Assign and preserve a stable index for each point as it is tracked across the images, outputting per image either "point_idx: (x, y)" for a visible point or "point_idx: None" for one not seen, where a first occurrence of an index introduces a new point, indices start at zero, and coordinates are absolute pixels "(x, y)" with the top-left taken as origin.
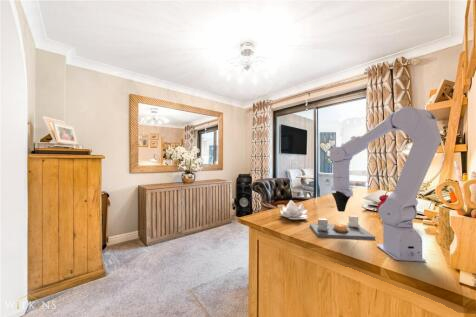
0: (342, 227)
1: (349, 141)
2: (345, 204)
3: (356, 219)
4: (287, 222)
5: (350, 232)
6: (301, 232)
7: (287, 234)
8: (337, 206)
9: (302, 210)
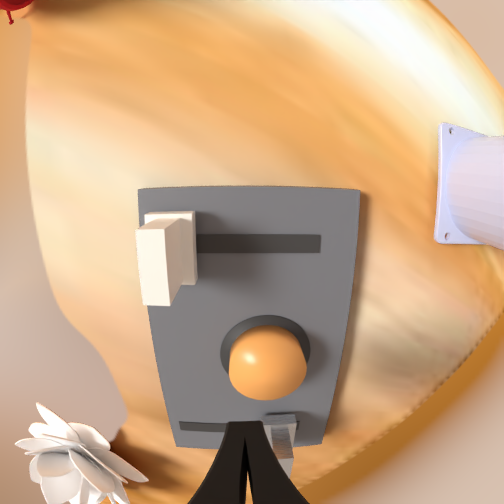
0: (304, 372)
1: None
2: (280, 476)
3: (171, 240)
4: (153, 478)
5: (296, 311)
6: None
7: None
8: (250, 487)
9: (55, 448)
